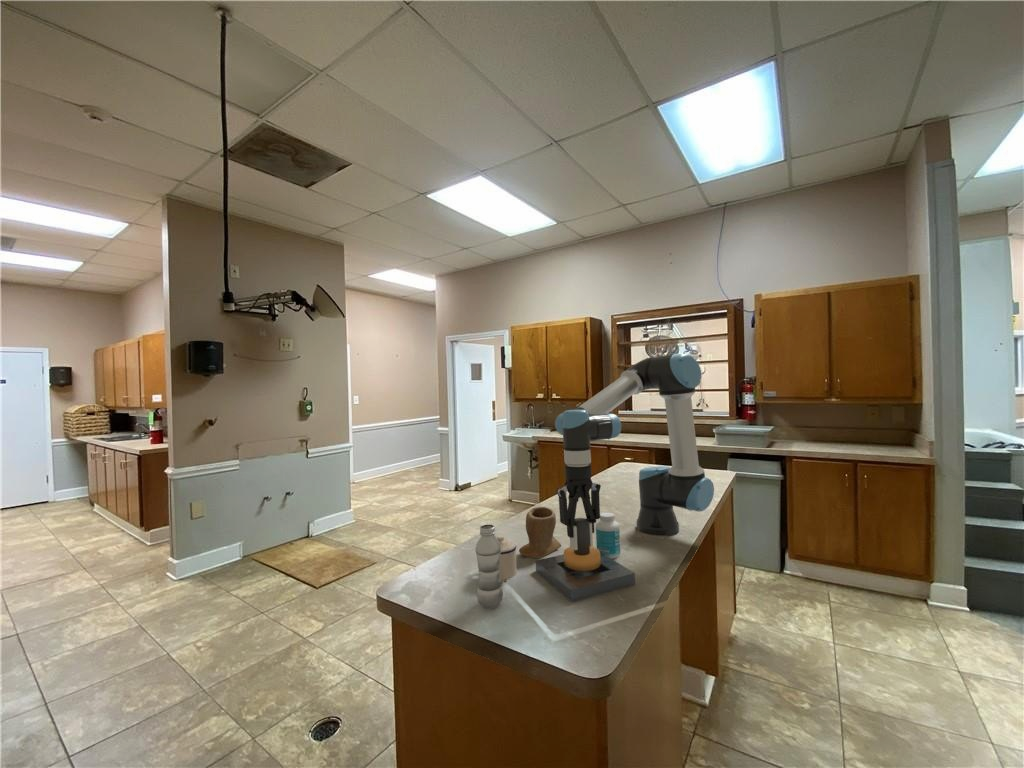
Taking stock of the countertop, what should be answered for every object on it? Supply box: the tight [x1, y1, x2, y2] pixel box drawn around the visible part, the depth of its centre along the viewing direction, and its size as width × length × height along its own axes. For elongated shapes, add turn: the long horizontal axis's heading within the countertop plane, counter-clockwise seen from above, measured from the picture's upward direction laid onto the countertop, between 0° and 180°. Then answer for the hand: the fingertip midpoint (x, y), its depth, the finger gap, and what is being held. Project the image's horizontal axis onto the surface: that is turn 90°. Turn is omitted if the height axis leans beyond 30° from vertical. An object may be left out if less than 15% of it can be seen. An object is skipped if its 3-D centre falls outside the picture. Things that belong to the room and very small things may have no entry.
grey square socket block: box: [535, 553, 636, 603], centre depth 116 cm, size 20×20×4 cm
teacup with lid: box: [496, 535, 518, 583], centre depth 122 cm, size 12×9×12 cm
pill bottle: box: [595, 512, 621, 560], centre depth 131 cm, size 8×7×14 cm
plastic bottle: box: [475, 523, 504, 609], centre depth 105 cm, size 6×7×20 cm
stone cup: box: [518, 506, 562, 559], centre depth 137 cm, size 15×12×15 cm
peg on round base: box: [563, 517, 601, 571], centre depth 116 cm, size 10×10×12 cm
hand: (581, 546), depth 116 cm, fingers closed on peg on round base, 4 cm apart
